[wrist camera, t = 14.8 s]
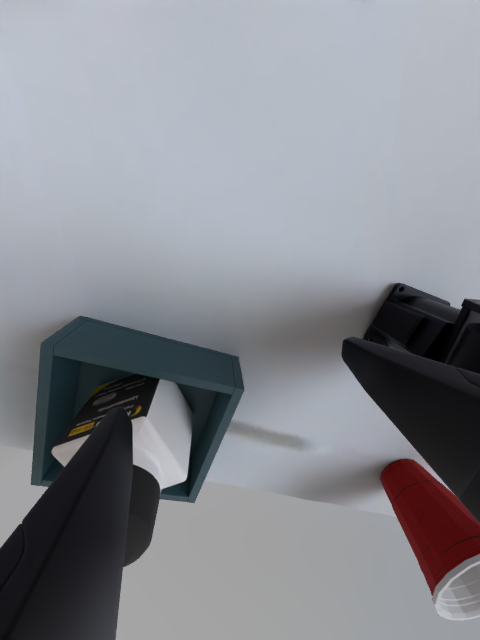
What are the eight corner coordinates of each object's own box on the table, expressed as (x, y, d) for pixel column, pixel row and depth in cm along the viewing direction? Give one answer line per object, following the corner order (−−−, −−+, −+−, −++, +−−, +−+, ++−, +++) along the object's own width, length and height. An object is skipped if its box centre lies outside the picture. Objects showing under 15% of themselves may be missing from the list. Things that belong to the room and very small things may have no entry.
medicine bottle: (165, 360, 22) (115, 499, 11) (195, 414, 25) (179, 566, 14) (95, 385, 22) (-21, 544, 11) (133, 435, 25) (69, 601, 14)
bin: (238, 356, 23) (244, 389, 19) (197, 457, 28) (194, 503, 23) (80, 315, 20) (40, 342, 15) (64, 436, 25) (30, 485, 20)
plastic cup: (449, 444, 32) (573, 559, 21) (418, 494, 36) (508, 614, 25) (378, 444, 30) (471, 568, 19) (353, 497, 34) (419, 625, 23)
